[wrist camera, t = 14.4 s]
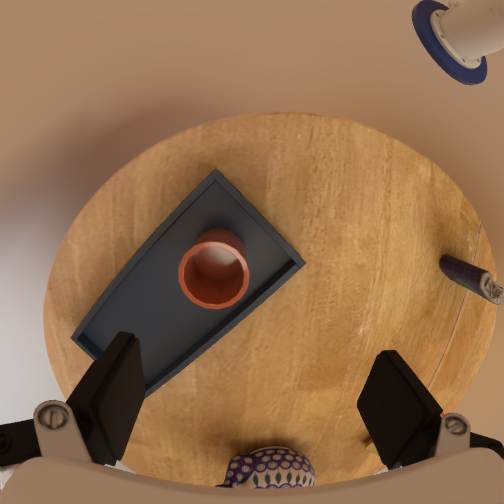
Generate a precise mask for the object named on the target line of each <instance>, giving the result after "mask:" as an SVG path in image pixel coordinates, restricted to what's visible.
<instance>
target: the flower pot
mask: <svg viewBox="0 0 504 504" xmlns="http://www.w3.org/2000/svg"><path fill="white" fill-rule="evenodd" d="M249 276H250V271H249V263H248V255H247V251H246V247H245V245H244V243H243V241H242V240H241V239H240V238H239V236H237V235H236V234H235V233H233V232H231V231H229V230H226V229H220V228H217V229H211V230H208V231H206V232H204V233H202V234H201V235H200V236H199V237H198V238H197V239H196V240H195V241H194V242H193V244H192V245H191V246H190V248H189V249H188V250H187V252H186V253H185V254H184V256H183V258H182V260H181V262H180V264H179V270H178V279H179V283H180V285H181V288H182V291H183V292H184V294H185V295H186V296H187V297H188V298H189V299H190V300H191V301H192V302H193V303H195V304H197V305H199V306H201V307H203V308H209V309H221V308H225V307H229V306H232V305H233V304H234V303H236V302H237V301H238V300H240V299H241V298H242V297H243V295H244V293H245V291H246V290H247V288H248V285H249Z"/></svg>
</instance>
